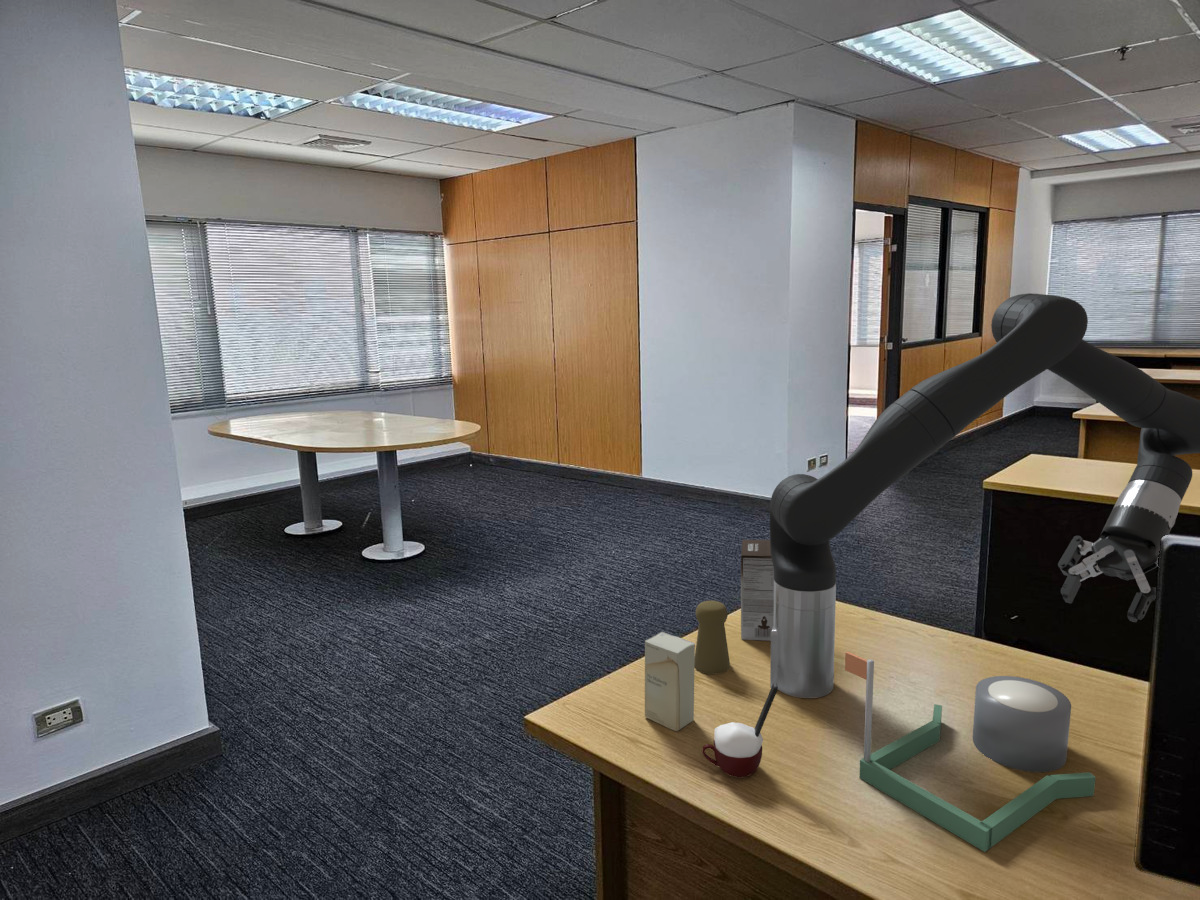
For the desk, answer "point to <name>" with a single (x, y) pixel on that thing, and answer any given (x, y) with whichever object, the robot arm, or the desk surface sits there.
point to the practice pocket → (937, 809)
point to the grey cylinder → (1021, 723)
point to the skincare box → (669, 680)
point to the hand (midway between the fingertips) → (1097, 609)
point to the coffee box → (756, 590)
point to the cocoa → (740, 744)
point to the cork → (711, 638)
